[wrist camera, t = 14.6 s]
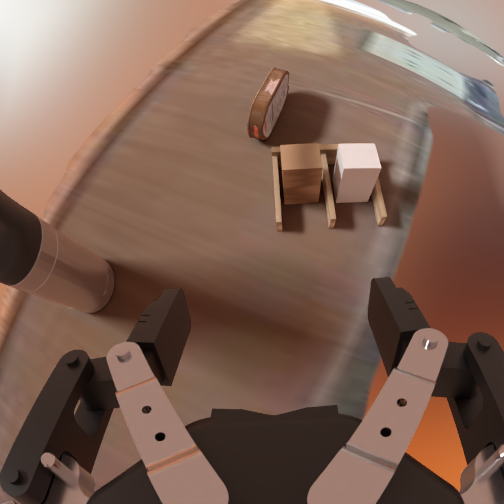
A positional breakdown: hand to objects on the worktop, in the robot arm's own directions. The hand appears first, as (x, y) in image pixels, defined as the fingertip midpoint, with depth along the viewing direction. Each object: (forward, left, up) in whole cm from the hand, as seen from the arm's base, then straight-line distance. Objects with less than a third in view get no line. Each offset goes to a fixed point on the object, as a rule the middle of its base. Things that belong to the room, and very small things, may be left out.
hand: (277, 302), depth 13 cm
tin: (0, +37, -28) cm, 47 cm away
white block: (+11, +21, -28) cm, 37 cm away
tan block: (+3, +22, -28) cm, 35 cm away
